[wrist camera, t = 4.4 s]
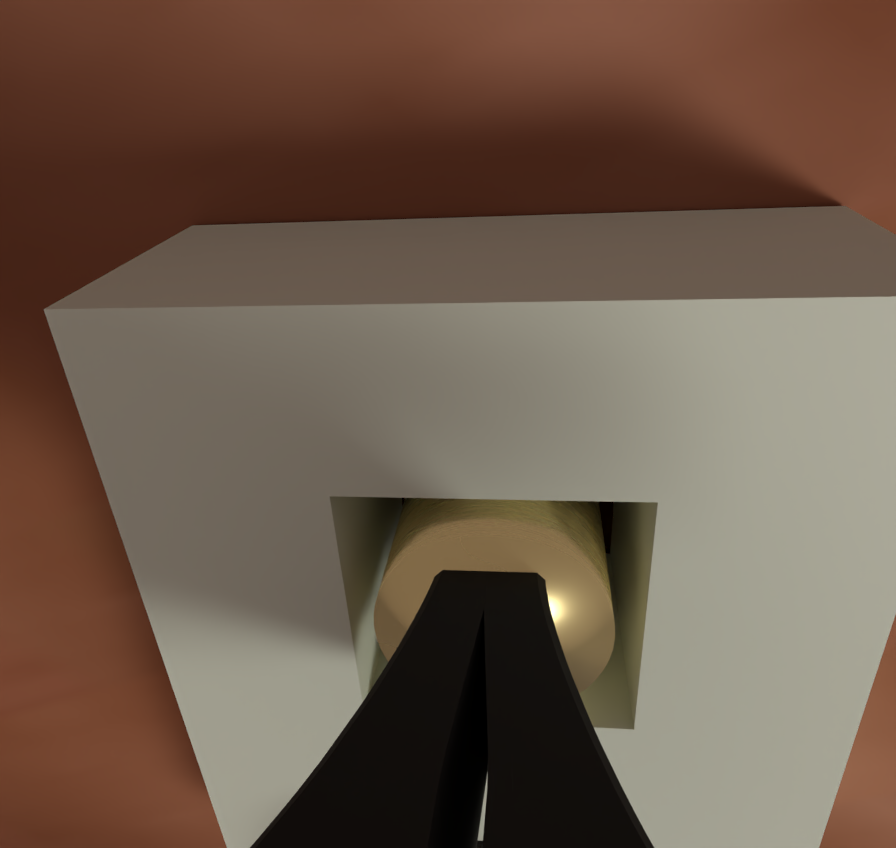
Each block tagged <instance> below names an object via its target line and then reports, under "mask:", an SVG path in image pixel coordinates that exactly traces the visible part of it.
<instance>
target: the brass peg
mask: <svg viewBox="0 0 896 848" xmlns="http://www.w3.org/2000/svg"><path fill="white" fill-rule="evenodd" d="M442 570H465V571H497V572H534V573H538V574H539V575H540V576H541V577H543V578H544V579H545V580H546V590H547V595H548V600H549V605H550V609H551V613H552V617H553V621H554V624H555V628H556V631H557V634H558V637H559V640H560V643H561V646H562V649H563V652H564V655H565V658H566V661H567V664H568V666H569V669H570V672H571V674H572V677H573V679H574V682H575V684H576V687H577V689H578V691H579V693H581V692H582V691H584V690H585V689H586V688H588V687H589V686H590V685H591V684H592V683H593V682H594V681H595V680H596V679H597V678H598V676H599V675H600V674H601V673H602V671H603V670H604V668H605V667H606V665H607V663H608V661H609V659H610V656H611V654H612V651H613V647H614V641H615V622H614V614H613V606H612V598H611V590H610V583H609V575H608V567H607V559H606V552H605V544H604V536H603V528H602V520H601V513H600V505H599V501H550V500H496V499H443V498H405V500H404V504H403V507H402V511H401V514H400V518H399V521H398V525H397V529H396V532H395V536H394V539H393V543H392V546H391V550H390V553H389V557H388V560H387V564H386V567H385V571H384V574H383V578H382V581H381V585H380V588H379V592H378V595H377V599H376V602H375V607H374V616H373V617H374V629H375V634H376V638H377V641H378V643H379V646H380V648H381V651H382V652H383V654H384V656H385V657H386V659H387V661H388V662H389V660H390V659H391V657H392V655H393V654H394V652H395V651H396V649H397V647H398V646H399V644H400V642H401V641H402V639H403V637H404V635H405V634H406V632H407V630H408V628H409V627H410V625H411V623H412V621H413V619H414V618H415V616H416V614H417V612H418V610H419V608H420V606H421V604H422V602H423V600H424V598H425V596H426V594H427V592H428V590H429V588H430V586H431V584H432V581H433V579H434V577H435V576H436V575H437V574H438V573H439V572H441V571H442Z"/></svg>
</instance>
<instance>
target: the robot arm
mask: <svg viewBox="0 0 896 848" xmlns="http://www.w3.org/2000/svg"><path fill="white" fill-rule="evenodd" d="M487 772H488V777H487ZM486 779H487V799H486V810H485V822H484V834H483V845H482V848H654V846H653V845H652V843H651V841H650V839H649V837H648V836H647V834H646V832H645V830H644V828H643V826H642V825H641V823H640V821H639V819H638V817H637V815H636V813H635V811H634V810H633V808H632V806H631V804H630V802H629V800H628V798H627V796H626V794H625V792H624V790H623V788H622V786H621V784H620V782H619V780H618V778H617V776H616V774H615V772H614V770H613V768H612V766H611V764H610V761H609V759H608V757H607V755H606V753H605V751H604V749H603V747H602V745H601V743H600V740H599V738H598V736H597V734H596V732H595V729H594V727H593V725H592V723H591V720H590V718H589V716H588V713H587V711H586V708H585V706H584V704H583V701H582V699H581V696H580V694H579V691H578V689H577V687H576V684H575V682H574V679H573V677H572V674H571V672H570V669H569V666H568V664H567V661H566V658H565V655H564V652H563V649H562V646H561V643H560V640H559V637H558V634H557V631H556V628H555V624H554V621H553V617H552V613H551V609H550V605H549V600H548V595H547V590H546V580H545V579H544V578H543V577H541V576H540V575H539V574H538V573H534V572H497V571H465V570H442V571H441V572H439V573H438V574H437V575H436V576H435V577H434V579H433V581H432V584H431V586H430V588H429V590H428V592H427V594H426V596H425V598H424V600H423V602H422V604H421V606H420V608H419V610H418V612H417V614H416V616H415V618H414V619H413V621H412V623H411V625H410V627H409V628H408V630H407V632H406V634H405V635H404V637H403V639H402V641H401V642H400V644H399V646H398V647H397V649H396V651H395V652H394V654H393V655H392V657H391V659H390V660H389V662H388V663H387V665H386V667H385V668H384V670H383V671H382V673H381V674H380V676H379V678H378V679H377V681H376V682H375V684H374V686H373V687H372V689H371V690H370V692H369V693H368V695H367V696H366V698H365V699H364V701H363V702H362V704H361V705H360V707H359V708H358V710H357V711H356V712H355V714H354V715H353V717H352V718H351V719H350V721H349V722H348V724H347V725H346V726H345V728H344V729H343V731H342V732H341V733H340V735H339V736H338V738H337V739H336V740H335V742H334V743H333V745H332V746H331V747H330V749H329V750H328V752H327V753H326V754H325V756H324V757H323V758H322V760H321V761H320V762H319V764H318V765H317V766H316V768H315V769H314V770H313V772H312V773H311V774H310V775H309V777H308V778H307V779H306V781H305V782H304V783H303V784H302V786H301V787H300V788H299V789H298V791H297V792H296V793H295V794H294V796H293V797H292V798H291V799H290V801H289V802H288V803H287V804H286V806H285V807H284V808H283V809H282V810H281V812H280V813H279V814H278V815H277V816H276V817H275V819H274V820H273V821H272V822H271V823H270V825H269V826H268V827H267V828H266V829H265V831H264V832H263V833H262V834H261V835H260V837H259V838H258V839H257V840H256V841H255V842H254V844H253V845H252V846H251V847H250V848H476V847H477V840H478V834H479V827H480V820H481V813H482V806H483V799H484V793H485V786H486Z"/></svg>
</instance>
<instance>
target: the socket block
mask: <svg viewBox="0 0 896 848" xmlns="http://www.w3.org/2000/svg"><path fill="white" fill-rule="evenodd" d="M44 312H45V315H46V318H47V321H48V324H49V327H50V330H51V333H52V336H53V339H54V342H55V344H56V347H57V350H58V353H59V356H60V359H61V362H62V365H63V368H64V371H65V374H66V377H67V380H68V383H69V386H70V389H71V391H72V394H73V397H74V400H75V403H76V406H77V409H78V412H79V415H80V418H81V421H82V424H83V427H84V430H85V433H86V435H87V438H88V441H89V444H90V447H91V450H92V453H93V456H94V459H95V462H96V465H97V468H98V471H99V474H100V477H101V479H102V482H103V485H104V488H105V491H106V494H107V497H108V500H109V503H110V506H111V509H112V512H113V515H114V518H115V521H116V523H117V526H118V529H119V532H120V535H121V538H122V541H123V544H124V547H125V550H126V553H127V556H128V559H129V562H130V565H131V567H132V570H133V573H134V576H135V579H136V582H137V585H138V588H139V591H140V594H141V597H142V600H143V603H144V606H145V609H146V611H147V614H148V617H149V620H150V623H151V626H152V629H153V632H154V635H155V638H156V641H157V644H158V647H159V650H160V653H161V655H162V658H163V661H164V664H165V667H166V670H167V673H168V676H169V679H170V682H171V685H172V688H173V691H174V694H175V697H176V699H177V702H178V705H179V708H180V711H181V714H182V717H183V720H184V723H185V726H186V729H187V732H188V735H189V738H190V741H191V743H192V746H193V749H194V752H195V755H196V758H197V761H198V764H199V767H200V770H201V773H202V776H203V779H204V782H205V785H206V788H207V790H208V793H209V796H210V799H211V802H212V805H213V808H214V811H215V814H216V817H217V820H218V823H219V826H220V829H221V832H222V834H223V837H224V840H225V843H226V846H227V848H250V847H251V846H252V845H253V844H254V842H255V841H256V840H257V839H258V838H259V837H260V835H261V834H262V833H263V832H264V831H265V829H266V828H267V827H268V826H269V825H270V823H271V822H272V821H273V820H274V819H275V817H276V816H277V815H278V814H279V813H280V812H281V810H282V809H283V808H284V807H285V806H286V804H287V803H288V802H289V801H290V799H291V798H292V797H293V796H294V794H295V793H296V792H297V791H298V789H299V788H300V787H301V786H302V784H303V783H304V782H305V781H306V779H307V778H308V777H309V775H310V774H311V773H312V772H313V770H314V769H315V768H316V766H317V765H318V764H319V762H320V761H321V760H322V758H323V757H324V756H325V754H326V753H327V752H328V750H329V749H330V747H331V746H332V745H333V743H334V742H335V740H336V739H337V738H338V736H339V735H340V733H341V732H342V731H343V729H344V728H345V726H346V725H347V724H348V722H349V721H350V719H351V718H352V717H353V715H354V714H355V712H356V711H357V710H358V708H359V707H360V705H361V704H362V702H363V701H364V699H365V698H366V696H367V695H368V693H369V692H370V690H371V689H372V687H373V686H374V684H375V682H376V681H377V679H378V678H379V676H380V674H381V673H382V671H383V670H384V668H385V667H386V665H387V663H388V661H387V659H386V657H385V656H384V654H383V652H382V651H381V648H380V646H379V643H378V641H377V638H376V634H375V629H374V617H373V616H374V607H375V602H376V599H377V595H378V592H379V588H380V585H381V581H382V578H383V574H384V571H385V567H386V564H387V560H388V557H389V553H390V550H391V546H392V543H393V539H394V536H395V532H396V529H397V525H398V521H399V518H400V514H401V511H402V507H403V506H402V498H443V499H496V500H550V501H603V502H613V517H612V531H611V546H610V554H607V553H606V559H607V567H608V575H609V583H610V590H611V598H612V606H613V614H614V622H615V641H614V647H613V651H612V654H611V656H610V659H609V661H608V663H607V665H606V667H605V668H604V670H603V671H602V673H601V674H600V675H599V676H598V678H597V679H596V680H595V681H594V682H593V683H592V684H591V685H590V686H589V687H588V688H586V689H585V690H584V691H582V692H581V693H579V694H580V696H581V699H582V701H583V704H584V706H585V708H586V711H587V713H588V716H589V718H590V720H591V723H592V725H593V727H594V729H595V732H596V734H597V736H598V738H599V740H600V743H601V745H602V747H603V749H604V751H605V753H606V755H607V757H608V759H609V761H610V764H611V766H612V768H613V770H614V772H615V774H616V776H617V778H618V780H619V782H620V784H621V786H622V788H623V790H624V792H625V794H626V796H627V798H628V800H629V802H630V804H631V806H632V808H633V810H634V811H635V813H636V815H637V817H638V819H639V821H640V823H641V825H642V826H643V828H644V830H645V832H646V834H647V836H648V837H649V839H650V841H651V843H652V845H653V846H654V848H819V846H820V843H821V840H822V837H823V834H824V831H825V828H826V824H827V821H828V818H829V815H830V812H831V809H832V806H833V803H834V800H835V797H836V794H837V791H838V788H839V785H840V782H841V779H842V776H843V773H844V770H845V767H846V764H847V761H848V757H849V754H850V751H851V748H852V745H853V742H854V739H855V736H856V733H857V730H858V727H859V724H860V721H861V718H862V715H863V712H864V709H865V706H866V703H867V700H868V697H869V694H870V690H871V687H872V684H873V681H874V678H875V675H876V672H877V669H878V666H879V663H880V660H881V657H882V654H883V651H884V648H885V645H886V642H887V639H888V636H889V633H890V630H891V626H892V623H893V620H894V617H895V614H896V235H895V234H893V233H892V232H890V231H888V230H886V229H885V228H883V227H881V226H879V225H878V224H876V223H874V222H872V221H871V220H869V219H867V218H865V217H864V216H862V215H860V214H858V213H857V212H855V211H853V210H851V209H850V208H848V207H846V206H825V207H791V208H758V209H724V210H691V211H658V212H624V213H591V214H557V215H524V216H491V217H457V218H424V219H390V220H357V221H323V222H290V223H257V224H223V225H192V226H190V227H189V228H187V229H185V230H183V231H181V232H180V233H178V234H176V235H174V236H173V237H171V238H169V239H167V240H166V241H164V242H162V243H160V244H158V245H157V246H155V247H153V248H151V249H150V250H148V251H146V252H144V253H142V254H141V255H139V256H137V257H135V258H134V259H132V260H130V261H128V262H127V263H125V264H123V265H121V266H119V267H118V268H116V269H114V270H112V271H111V272H109V273H107V274H105V275H103V276H102V277H100V278H98V279H96V280H95V281H93V282H91V283H89V284H88V285H86V286H84V287H82V288H80V289H79V290H77V291H75V292H73V293H72V294H70V295H68V296H66V297H64V298H63V299H61V300H59V301H57V302H56V303H54V304H52V305H50V306H49V307H47V308H45V309H44ZM487 777H488V772H487ZM486 799H487V779H486V786H485V793H484V799H483V806H482V813H481V820H480V827H479V834H478V841H483V834H484V822H485V810H486Z"/></svg>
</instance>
